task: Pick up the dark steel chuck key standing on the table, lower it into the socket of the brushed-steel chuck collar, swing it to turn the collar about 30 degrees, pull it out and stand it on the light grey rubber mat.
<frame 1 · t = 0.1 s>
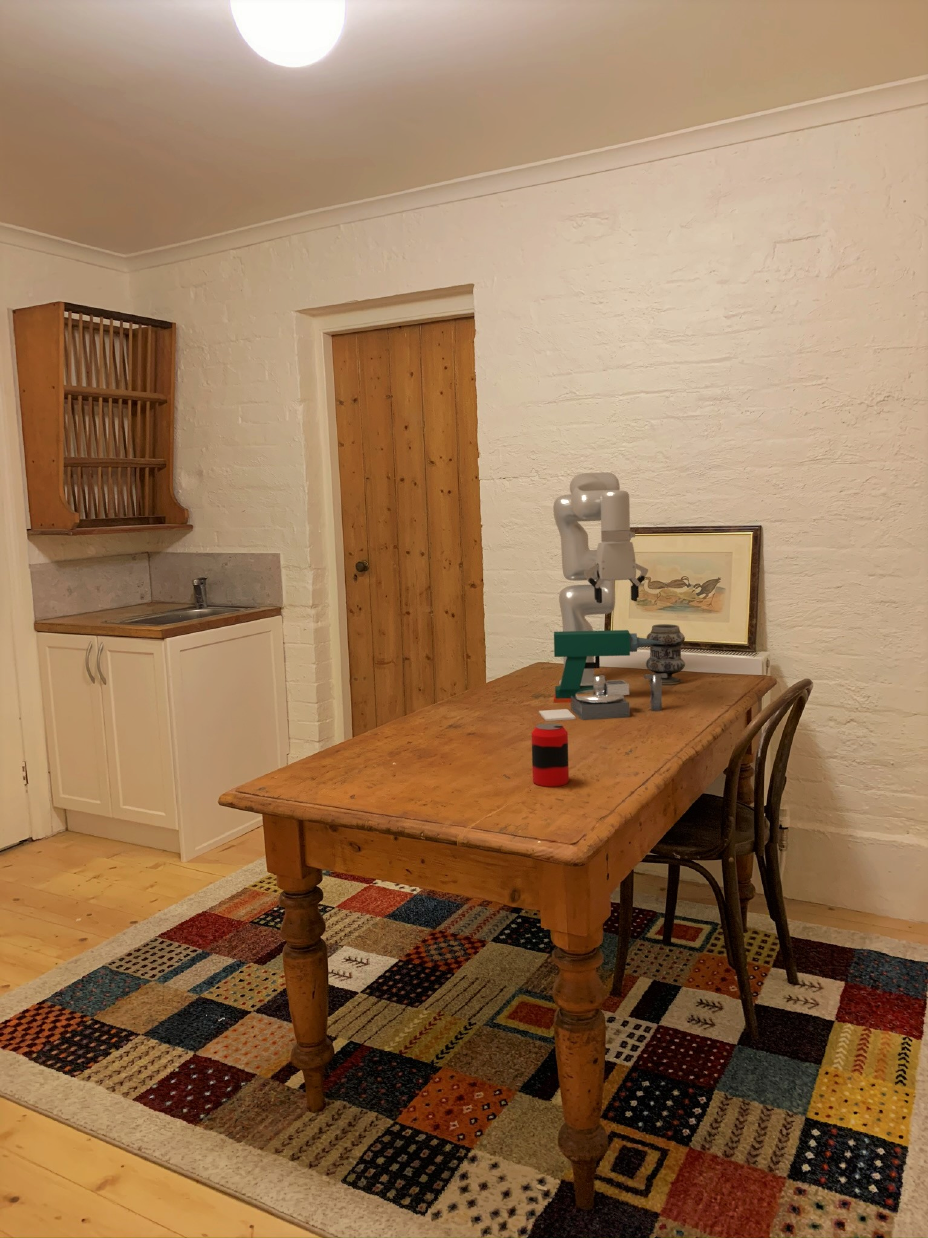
hand: (616, 601, 255), 31 cm above the table, fingers open, 9 cm apart
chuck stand: (599, 713, 262), on the table
chuck key: (656, 709, 264), on the table
power tool: (608, 700, 280), on the table
key mat: (556, 716, 261), on the table
apothecary jar: (665, 682, 302), on the table
soda can: (550, 782, 201), on the table
chuck collar: (601, 686, 261), point 7 cm above the table, hinge at 0.0°
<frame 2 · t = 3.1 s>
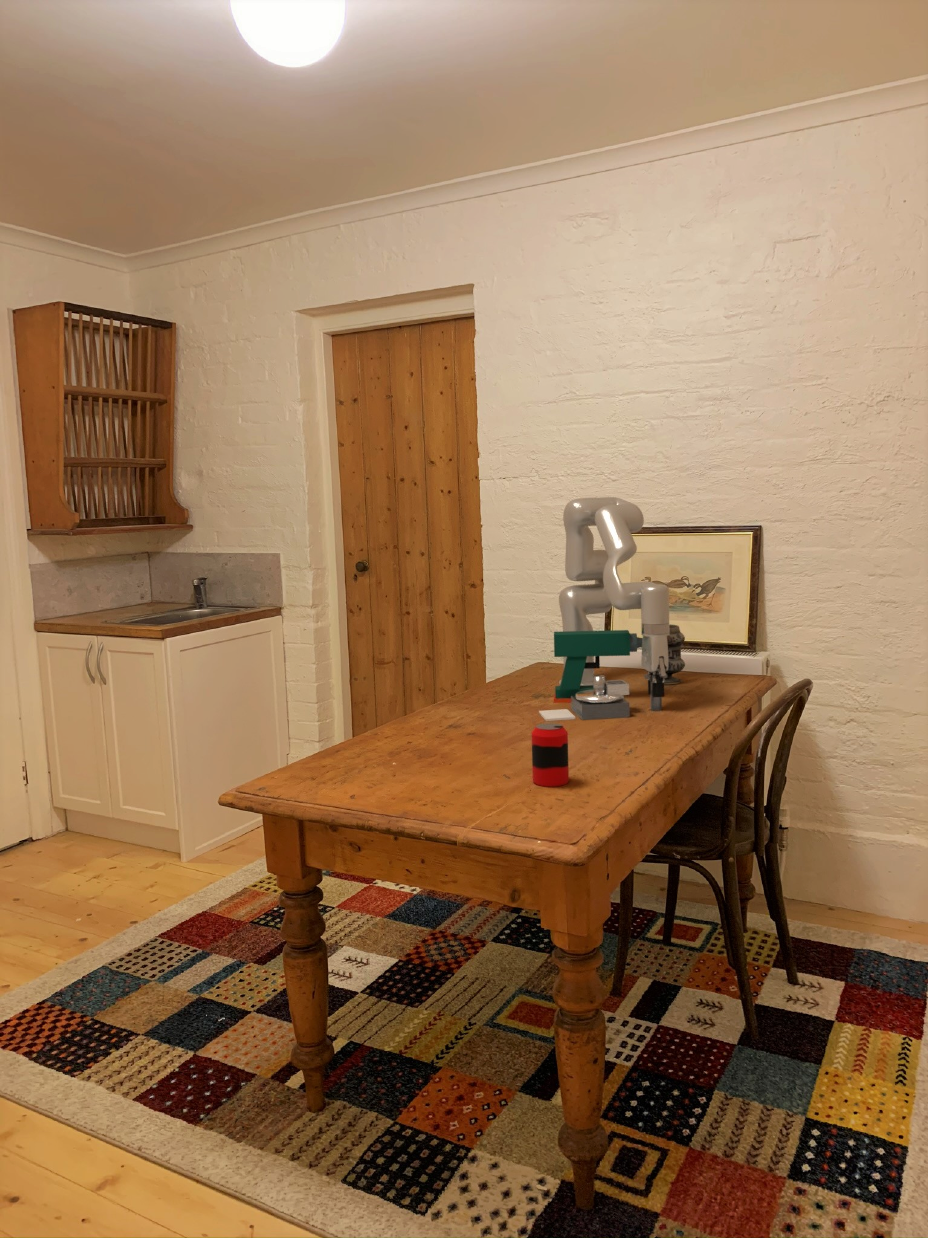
hand: (656, 694, 263), 4 cm above the table, fingers closed on chuck key, 3 cm apart
chuck key: (656, 709, 264), on the table, touching gripper
everything else where it was.
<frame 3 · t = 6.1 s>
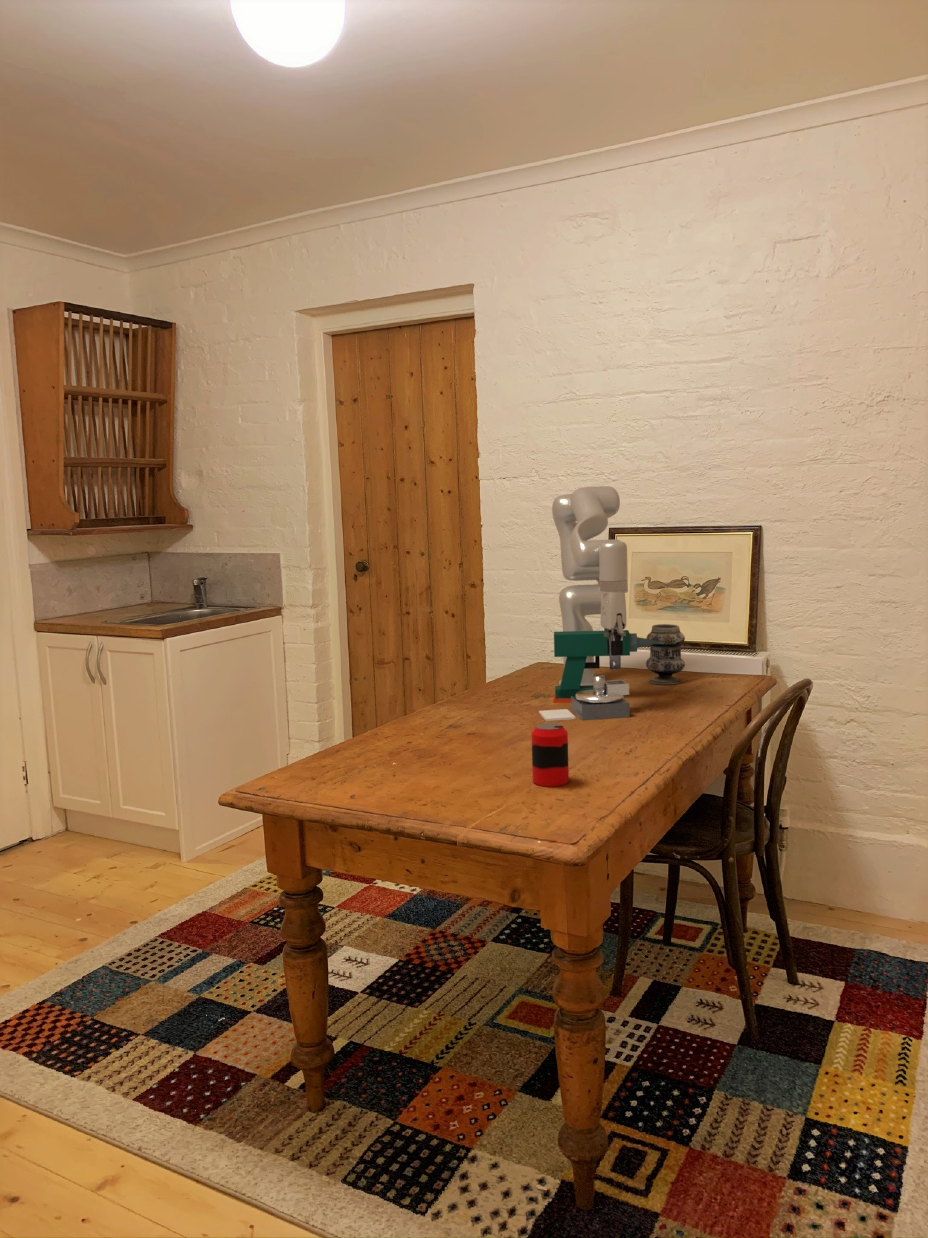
hand: (614, 653, 260), 16 cm above the table, fingers closed on chuck key, 3 cm apart
chuck key: (615, 668, 261), point 12 cm above the table, touching gripper
everything else where it was.
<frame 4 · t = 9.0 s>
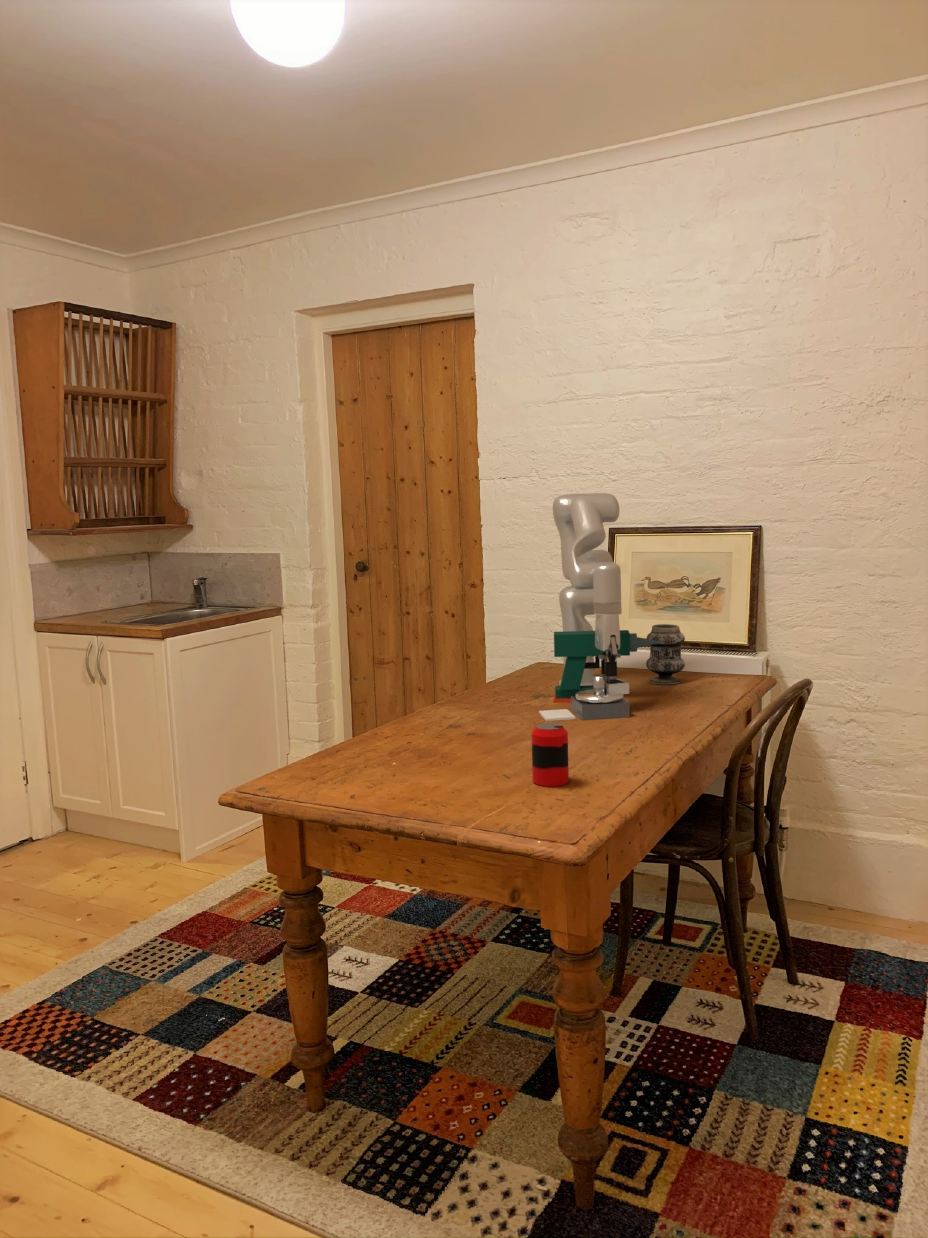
hand: (609, 674, 263), 10 cm above the table, fingers closed on chuck key, 3 cm apart
chuck key: (611, 690, 263), point 6 cm above the table, tilted 9°, touching chuck collar, gripper
chuck collar: (600, 686, 261), point 7 cm above the table, hinge at 9.8°, touching chuck key
everything else where it was.
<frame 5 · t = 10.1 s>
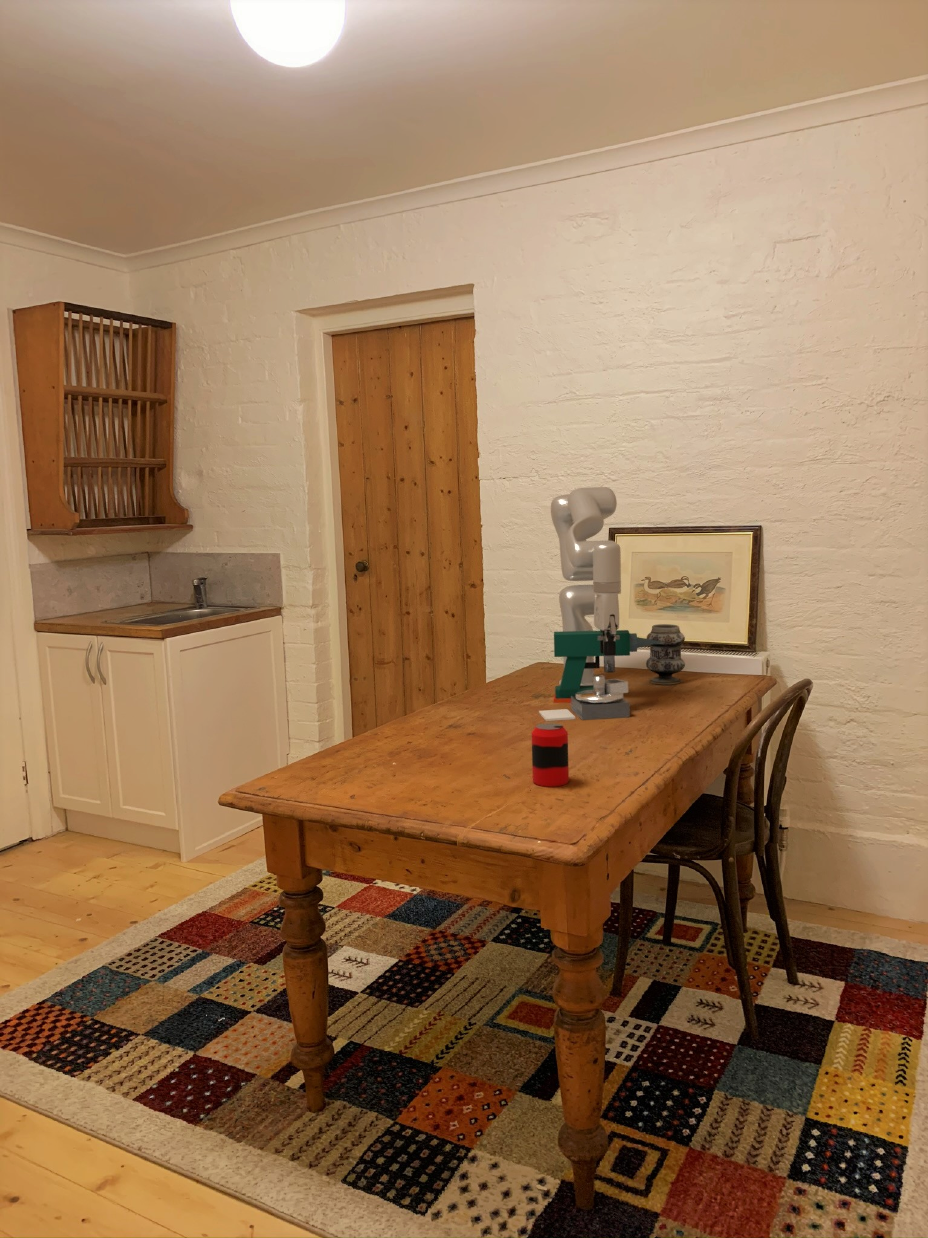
hand: (607, 653, 264), 16 cm above the table, fingers closed on chuck key, 3 cm apart
chuck key: (609, 671, 264), point 11 cm above the table, touching gripper
chuck collar: (600, 686, 261), point 7 cm above the table, hinge at 20.8°
everything else where it was.
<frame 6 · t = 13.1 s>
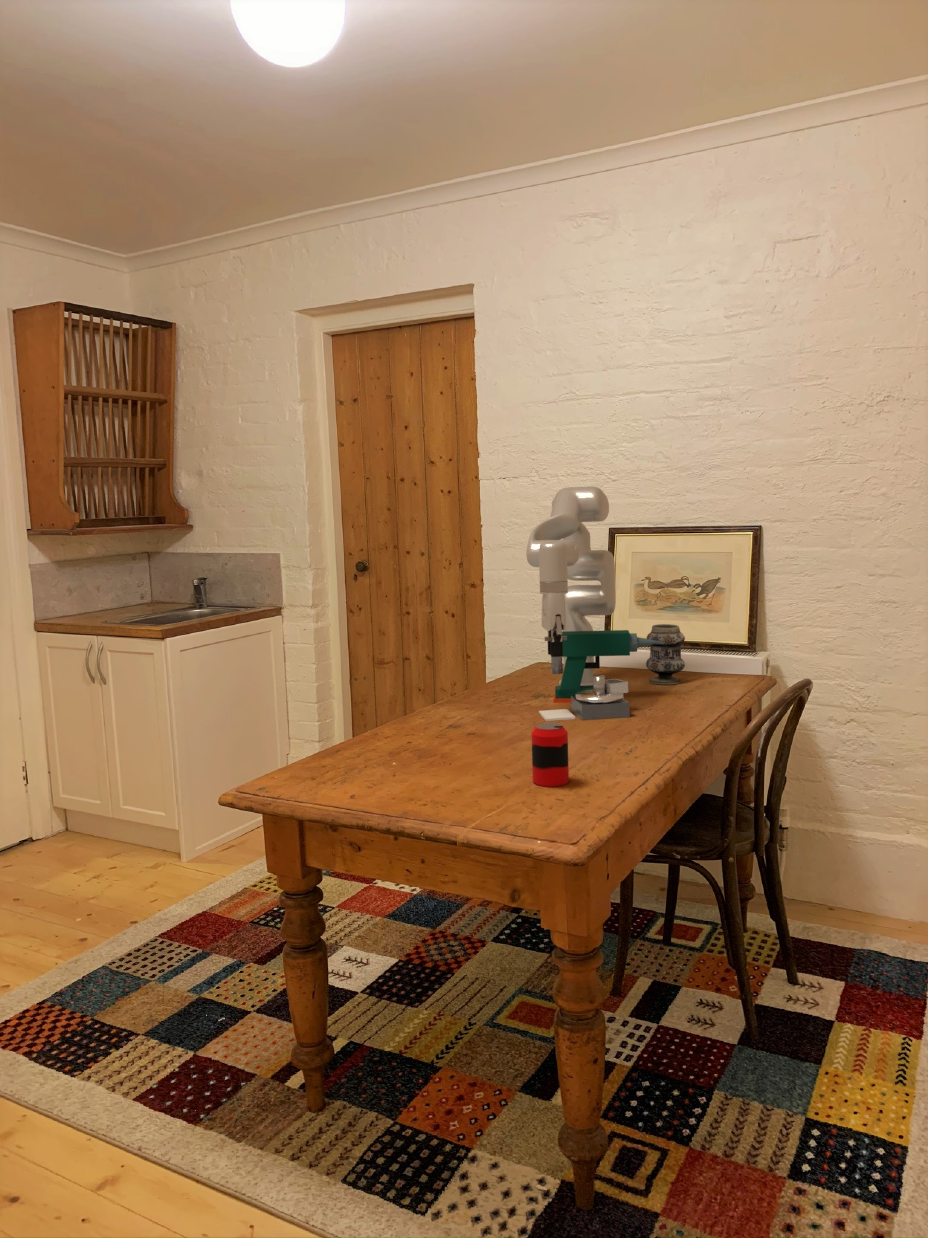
hand: (555, 654, 259), 17 cm above the table, fingers closed on chuck key, 3 cm apart
chuck key: (557, 673, 259), point 12 cm above the table, touching gripper
everything else where it was.
when the fingers open (6 cm above the table, at t = 15.3 s): chuck key stays where it is, resting on key mat.
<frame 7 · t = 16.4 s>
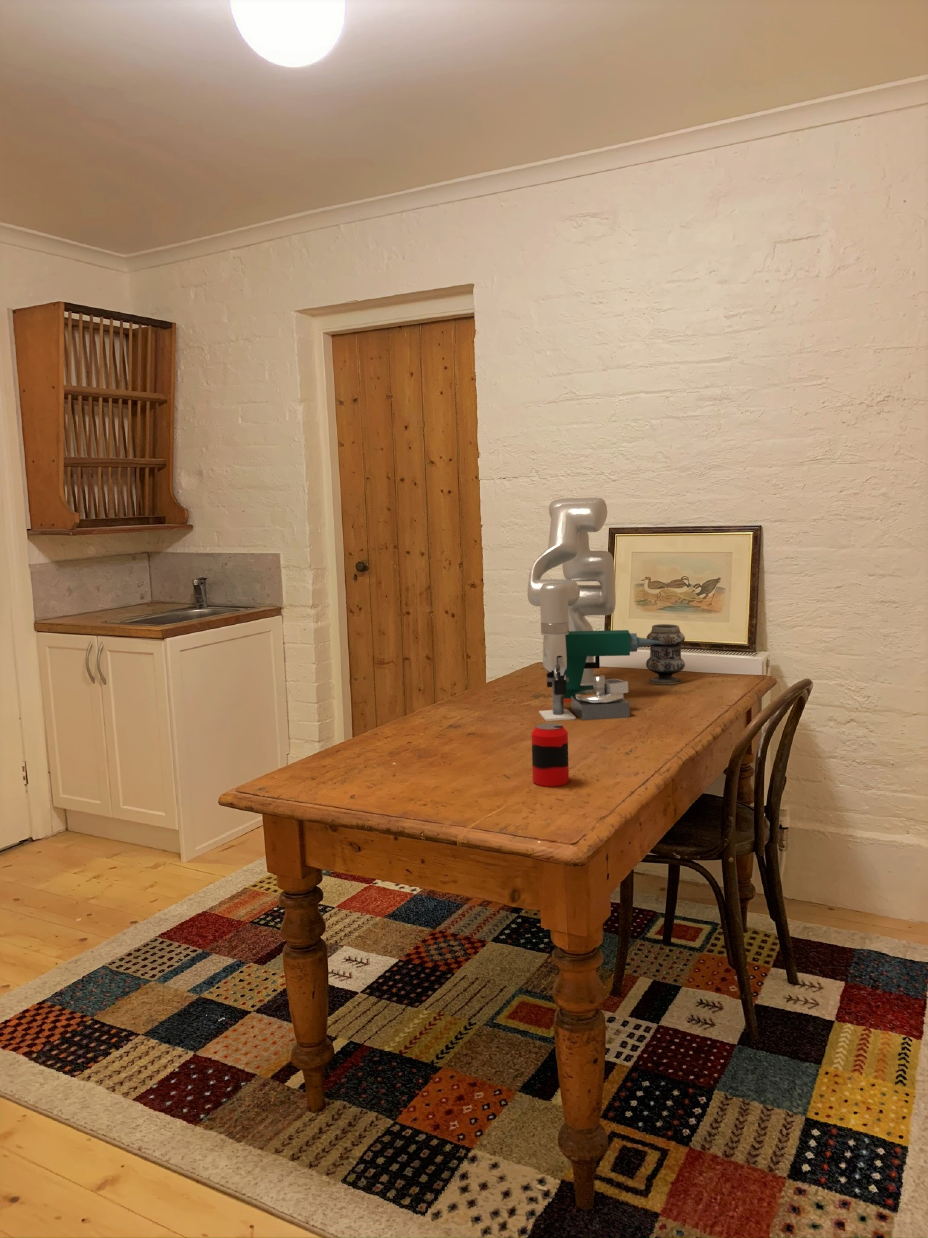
hand: (556, 690, 260), 7 cm above the table, fingers open, 9 cm apart
chuck key: (558, 713, 261), point 1 cm above the table, touching key mat
everything else where it was.
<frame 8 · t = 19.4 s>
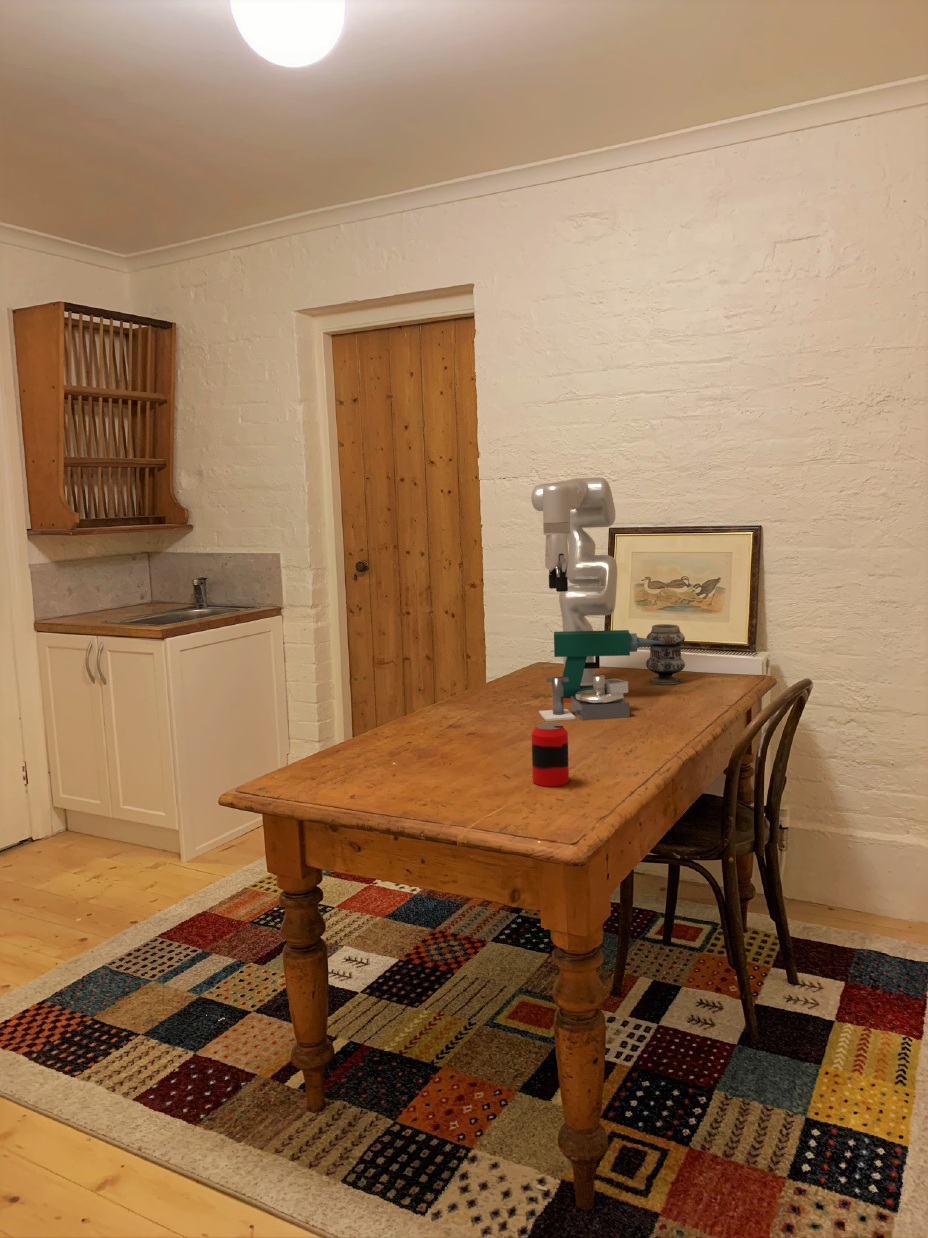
hand: (558, 589, 270), 33 cm above the table, fingers open, 9 cm apart
nothing on the table moved.
at the end: chuck collar at +21° (first picture: +0°); chuck key inside the target area on the key mat (0.4 cm from its centre), point 0.6 cm above the key mat's base; chuck key tilted 1° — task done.
